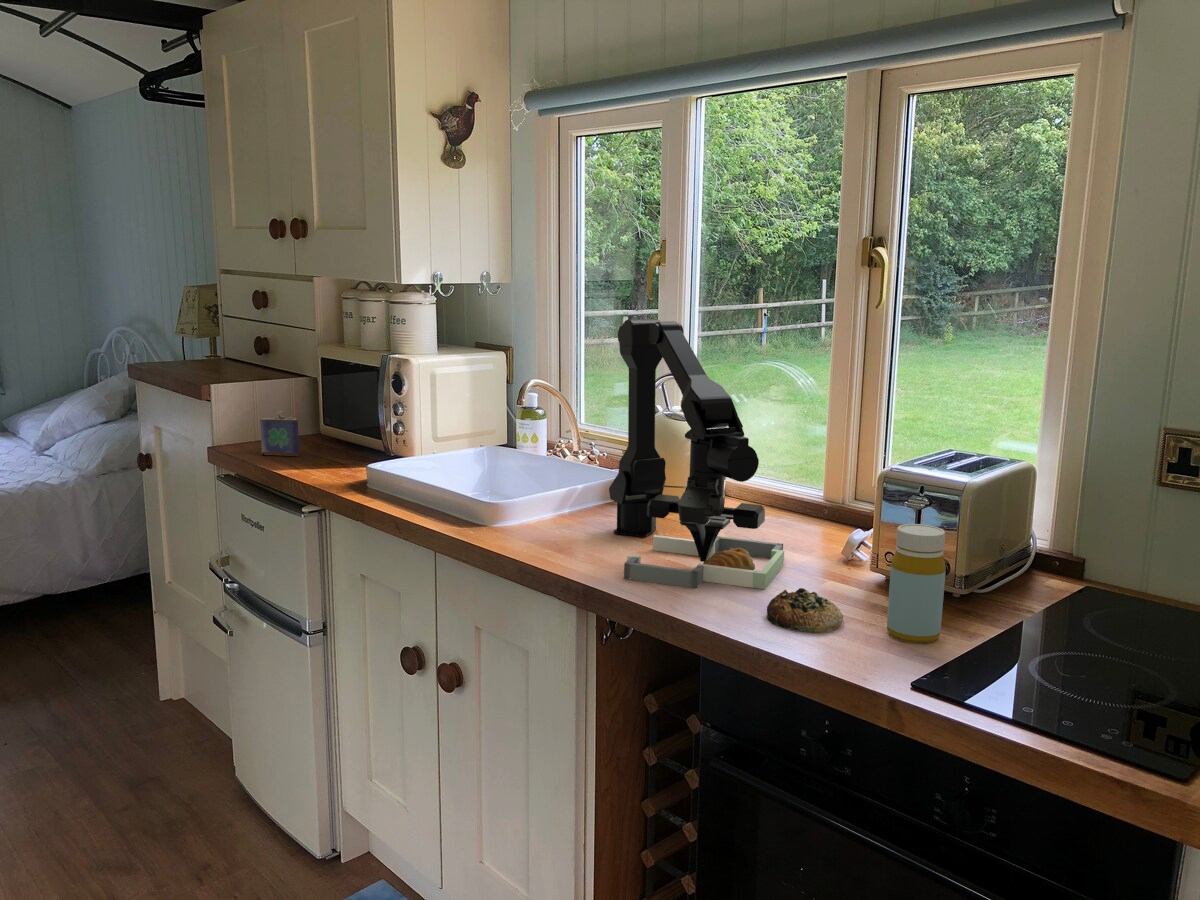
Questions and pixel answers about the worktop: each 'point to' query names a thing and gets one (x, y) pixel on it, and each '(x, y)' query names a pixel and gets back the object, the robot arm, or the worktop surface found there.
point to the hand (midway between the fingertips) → (703, 561)
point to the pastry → (732, 559)
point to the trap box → (705, 571)
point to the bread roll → (804, 612)
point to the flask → (280, 434)
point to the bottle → (917, 584)
